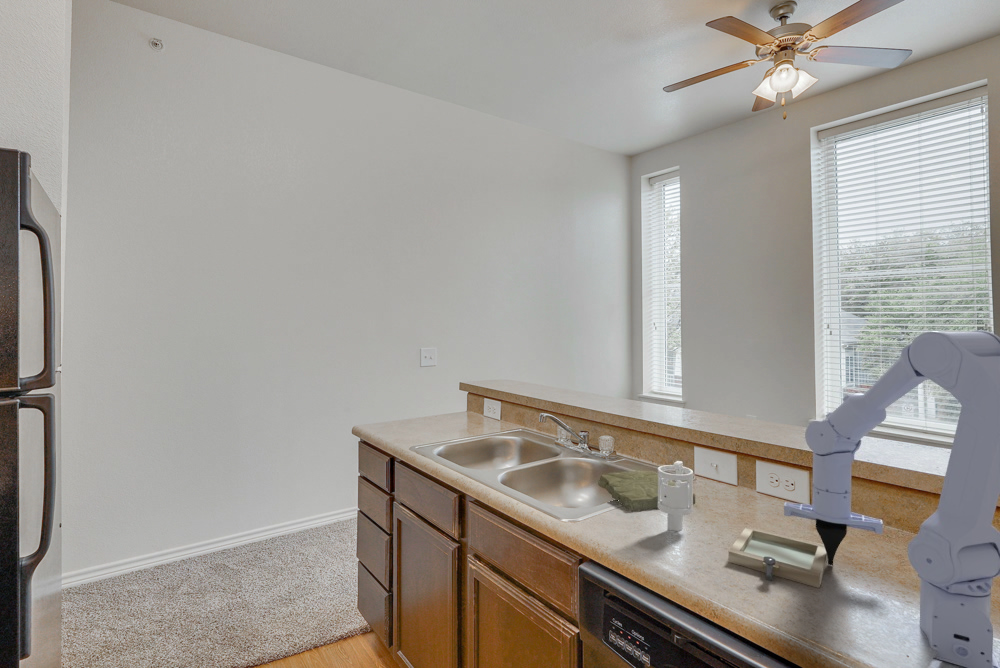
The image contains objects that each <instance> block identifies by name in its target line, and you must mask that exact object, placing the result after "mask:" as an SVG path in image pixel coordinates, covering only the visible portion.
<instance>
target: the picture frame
mask: <svg viewBox="0 0 1000 668" xmlns="http://www.w3.org/2000/svg"><path fill="white" fill-rule="evenodd" d="M764 557H772V558H774V559H775V560H776V564H775V565H773V576H775V577H779V578H783V579H786V580H790V581H793V582H797V583H800V584H804V585H807V586H810V587H813V588H816V589H817V588H818V589H820V587H821V583H822V581H823V576H824V574H825V570H826V566H827V564H828V557H827V553H826V550H825V547H824V544H823V543H820V542H816V541H813V540H807V539H804V538H800V537H796V536H790V535H788V534H787V535H786V534H783V533H778V532H775V531H770V530H766V529H763V528H758V527H753V526H750V525H746V526H745V527H744V529H743V530H742V532H740V534H739V536H738V537H737V539H736V540H735V542H734V543H733V544H732V545H731V547H730V549H729V550H728V563H730V564H734V565H738V566H741V567H745V568H748V569H751V570H754V571H755V570H756V571H758V572H762V573H765V574H766V563H764V561H763V560H764Z"/></svg>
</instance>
